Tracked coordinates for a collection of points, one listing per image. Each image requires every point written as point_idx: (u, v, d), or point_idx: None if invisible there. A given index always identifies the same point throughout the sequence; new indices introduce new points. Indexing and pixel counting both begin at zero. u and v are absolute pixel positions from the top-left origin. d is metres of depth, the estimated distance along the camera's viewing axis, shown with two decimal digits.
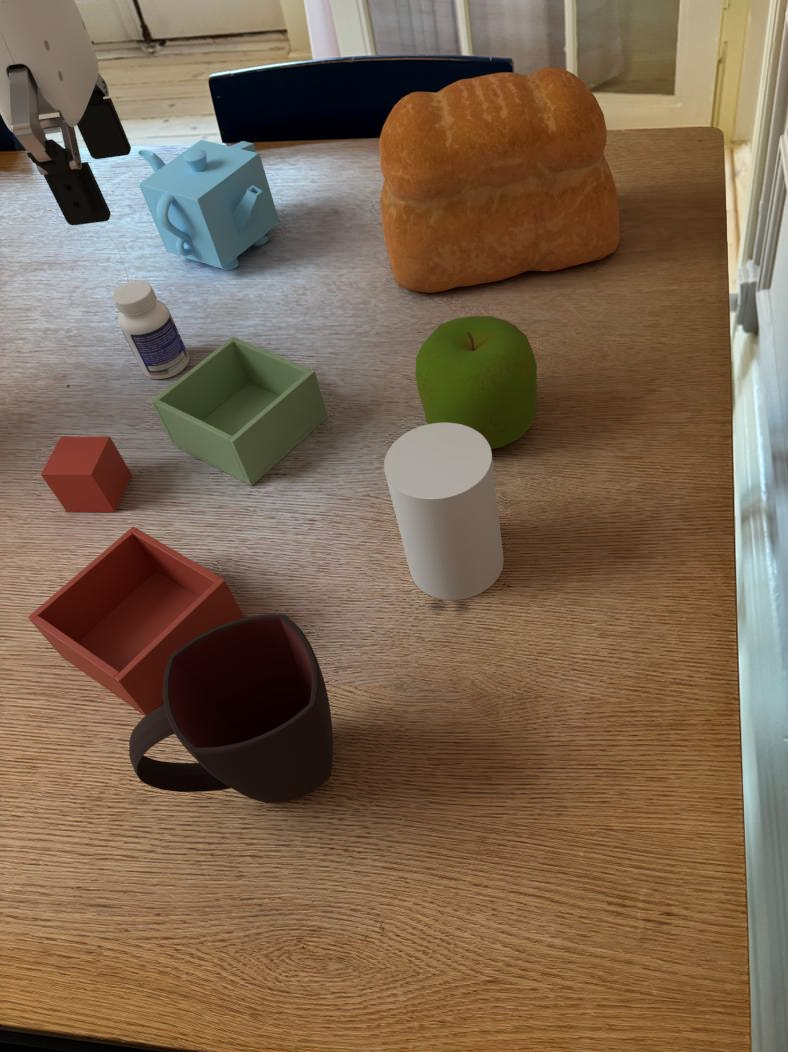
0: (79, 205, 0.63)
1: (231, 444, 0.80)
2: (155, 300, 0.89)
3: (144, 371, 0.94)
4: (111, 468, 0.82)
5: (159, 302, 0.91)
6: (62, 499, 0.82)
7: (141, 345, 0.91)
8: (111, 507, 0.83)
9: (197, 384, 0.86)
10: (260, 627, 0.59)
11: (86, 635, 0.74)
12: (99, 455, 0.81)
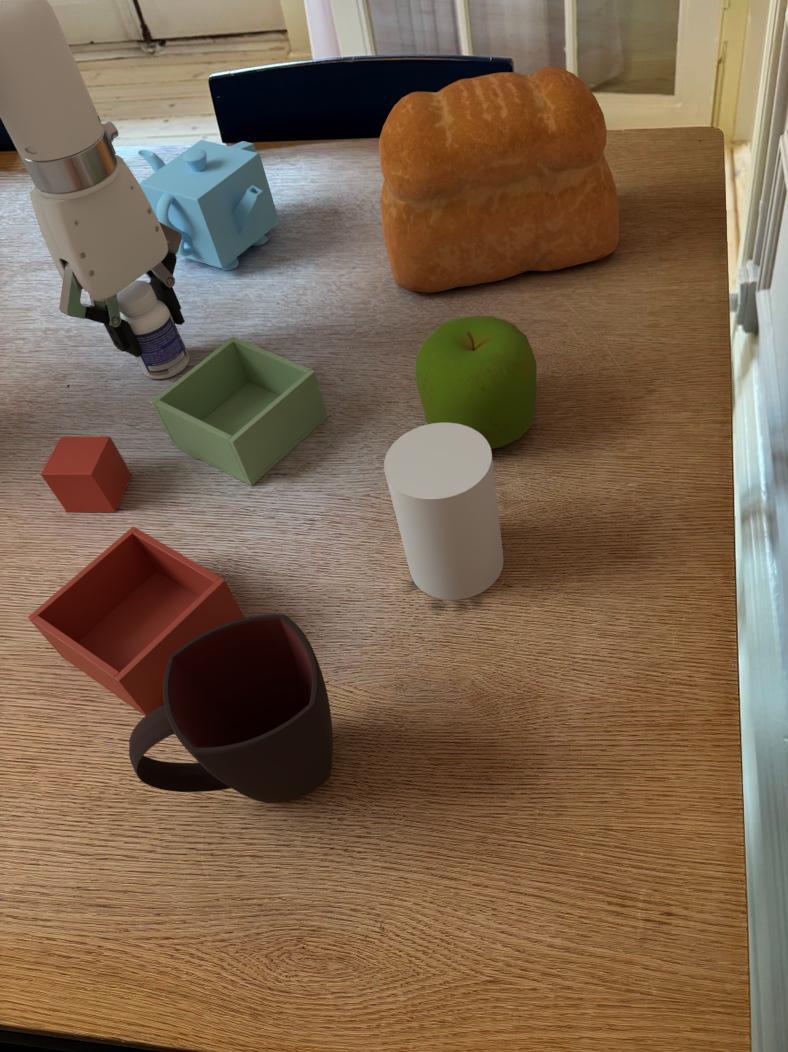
0: (118, 343, 0.90)
1: (231, 444, 0.80)
2: (155, 300, 0.89)
3: (144, 371, 0.94)
4: (111, 468, 0.82)
5: (159, 302, 0.91)
6: (62, 499, 0.82)
7: (141, 345, 0.91)
8: (111, 507, 0.83)
9: (197, 384, 0.86)
10: (260, 627, 0.59)
11: (86, 635, 0.74)
12: (99, 455, 0.81)
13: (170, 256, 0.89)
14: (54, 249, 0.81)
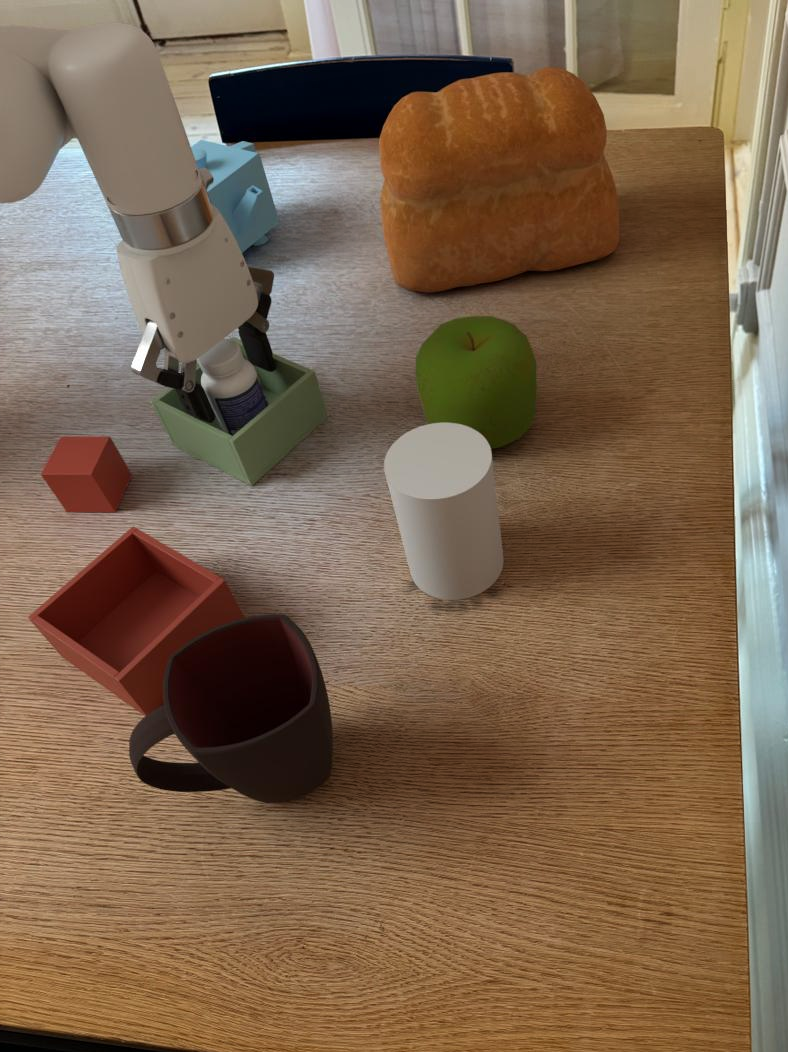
0: (189, 408, 0.81)
1: (231, 444, 0.80)
2: (243, 360, 0.81)
3: None
4: (111, 468, 0.82)
5: (245, 361, 0.83)
6: (62, 499, 0.82)
7: (225, 409, 0.83)
8: (111, 507, 0.83)
9: None
10: (260, 627, 0.59)
11: (86, 635, 0.74)
12: (99, 455, 0.81)
13: (266, 299, 0.81)
14: (140, 308, 0.73)
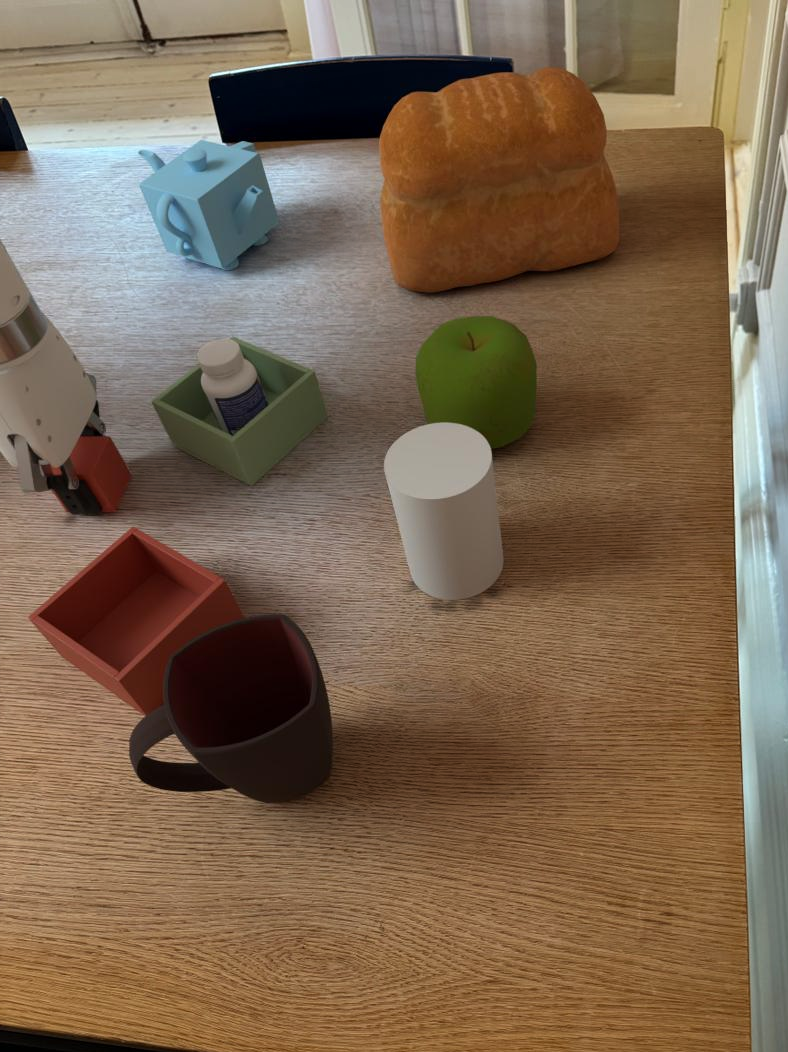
0: (76, 507, 0.81)
1: (231, 444, 0.80)
2: (243, 360, 0.81)
3: None
4: (111, 468, 0.82)
5: (245, 361, 0.83)
6: None
7: (225, 409, 0.83)
8: (111, 507, 0.83)
9: (197, 384, 0.86)
10: (260, 627, 0.59)
11: (86, 635, 0.74)
12: (99, 455, 0.81)
13: None
14: (0, 427, 0.72)
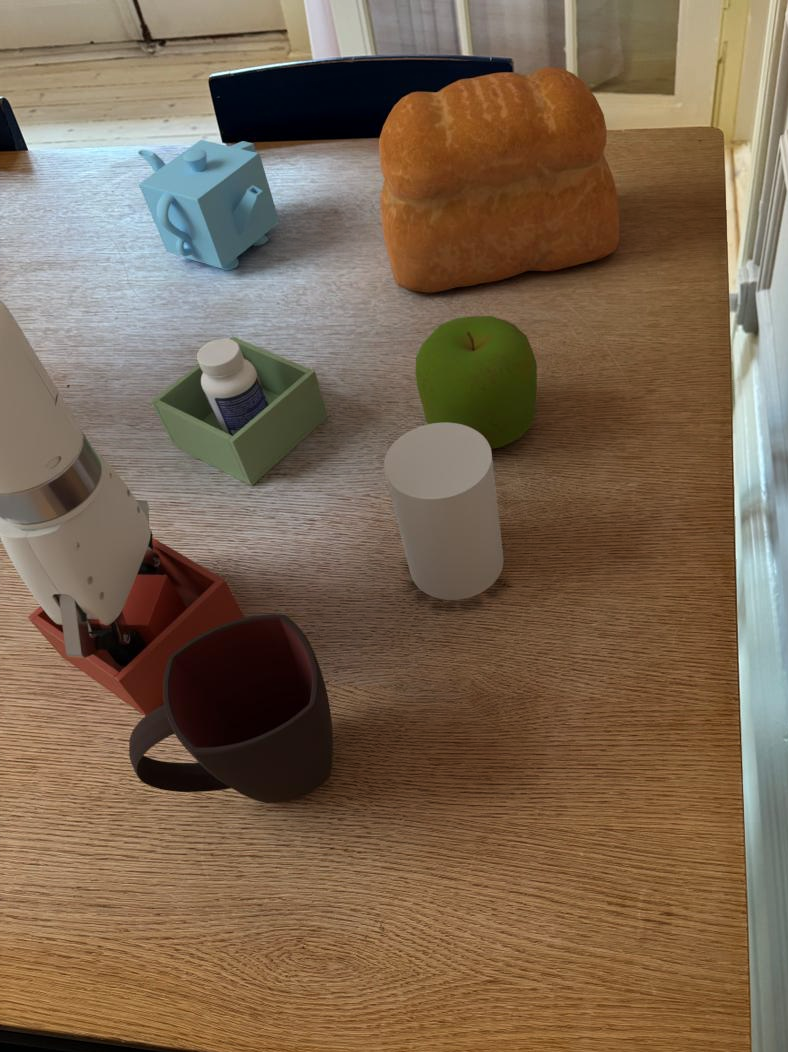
0: (126, 660, 0.70)
1: (231, 444, 0.80)
2: (242, 360, 0.81)
3: None
4: (168, 611, 0.71)
5: (245, 361, 0.83)
6: None
7: (225, 409, 0.83)
8: None
9: (197, 384, 0.86)
10: (260, 627, 0.59)
11: None
12: (155, 599, 0.69)
13: None
14: (45, 587, 0.60)
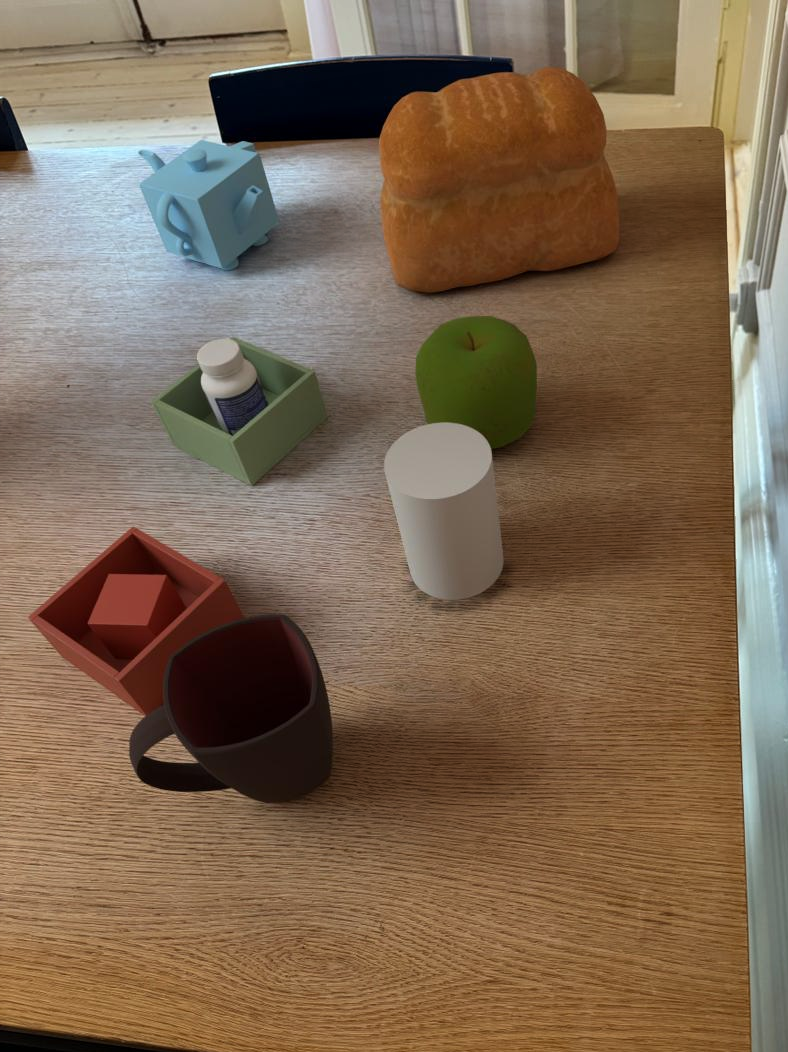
0: None
1: (231, 444, 0.80)
2: (242, 360, 0.81)
3: None
4: (168, 611, 0.71)
5: (245, 361, 0.83)
6: (111, 647, 0.71)
7: (225, 409, 0.83)
8: None
9: (197, 384, 0.86)
10: (260, 627, 0.59)
11: (86, 635, 0.74)
12: (155, 599, 0.69)
13: None
14: None
